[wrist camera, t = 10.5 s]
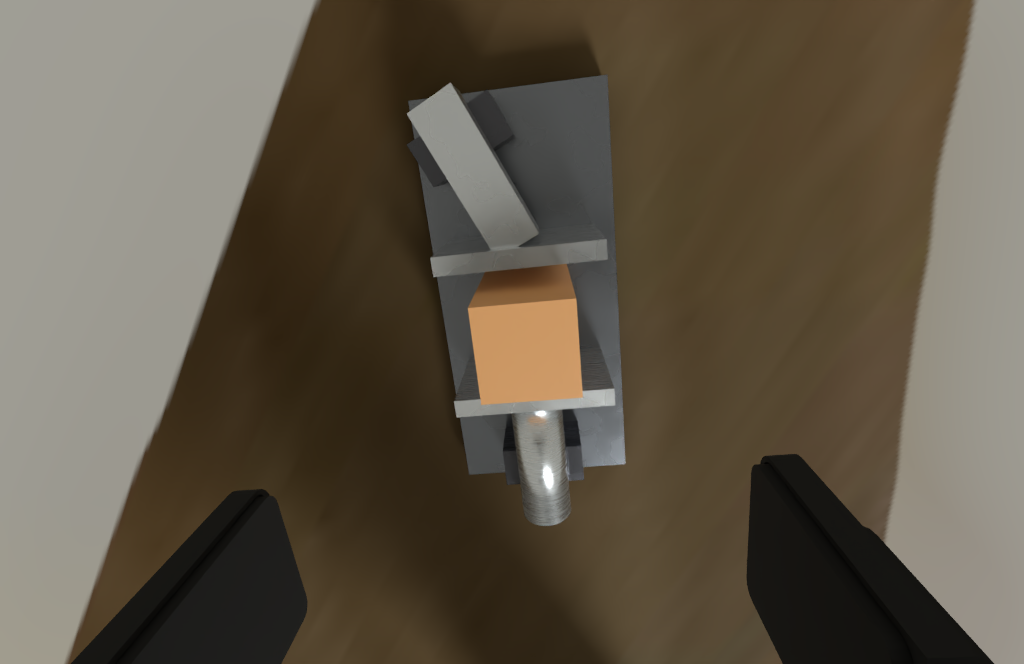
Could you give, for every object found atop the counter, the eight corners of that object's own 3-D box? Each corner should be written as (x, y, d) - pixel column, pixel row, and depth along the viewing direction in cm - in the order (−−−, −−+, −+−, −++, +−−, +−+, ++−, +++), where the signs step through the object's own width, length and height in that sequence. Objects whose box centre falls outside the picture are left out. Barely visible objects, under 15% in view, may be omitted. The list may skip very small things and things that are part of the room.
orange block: (566, 261, 25) (576, 298, 18) (571, 337, 26) (582, 397, 19) (486, 269, 25) (467, 307, 18) (495, 343, 26) (481, 405, 20)
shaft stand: (621, 449, 30) (642, 524, 24) (472, 459, 30) (455, 535, 24) (603, 80, 23) (626, 50, 17) (415, 104, 24) (373, 84, 18)
